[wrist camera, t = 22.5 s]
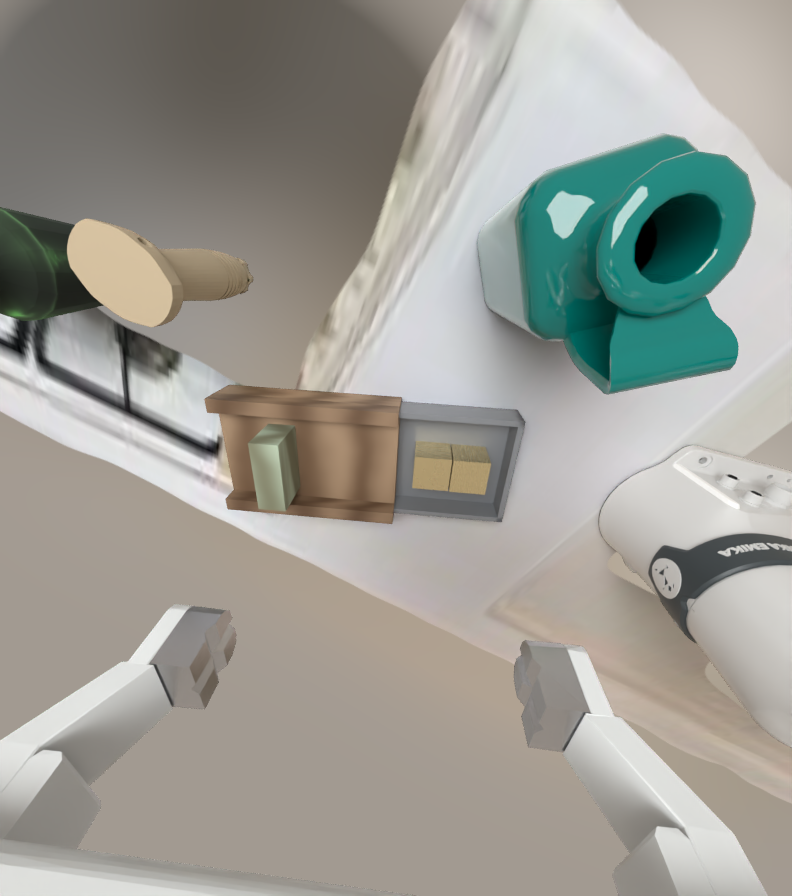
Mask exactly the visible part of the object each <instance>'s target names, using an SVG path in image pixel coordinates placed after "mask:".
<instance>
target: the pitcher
mask: <svg viewBox="0 0 792 896" xmlns="http://www.w3.org/2000/svg"><path fill="white" fill-rule="evenodd" d="M755 205H756V202H755V198H754V195H753V191H752V188H751V184H750V181H749V177H748V174H747V173H746V172H744V171H743V170H742V169H741V168H740V167H739V166H738V165H737V164H735V163H734V162H733V161H732V160H731V159H730V158H729V157H727V156H725V155H719V154H712V153H705V152H698V149H697V148H696V147H695V146H693V145H692V144H691V143H690V142H689V141H688V140H687V139H686V138H684V137H682V136H677V135H670V134H658V135H655V136H652V137H649V138H646V139H643V140H639V141H636V142H633V143H630V144H627V145H624V146H621V147H618V148H615V149H612V150H608V151H605V152H602V153H599V154H596V155H593V156H590V157H587V158H584V159H580V160H577V161H574V162H571V163H568V164H565V165H562V166H559V167H556V168H552V169H549V170H547V171H545V172H544V173H542V174H541V175H540V176H539V177H538V178H536V179H535V180H534V181H533V182H531V183H530V184H529V185H528V186H527V187H526V188H524V189H523V190H522V191H521V192H520V193H519V194H517V195H516V196H515V197H514V198H513V199H512V200H510V201H509V202H508V203H507V204H506V205H505V206H503V207H502V208H501V209H500V210H499V211H498V212H496V213H495V214H494V215H493V216H492V217H491V218H489V219H488V220H487V221H486V222H485V224H484V225H483V227H482V229H481V230H480V232H479V236H478V241H477V246H478V254H479V261H480V268H481V276H482V283H483V290H484V298H485V302H486V304H487V306H488V307H489V309H491V310H492V311H494V312H495V313H496V314H498V315H500V316H502V317H503V318H505V319H507V320H509V321H510V322H512V323H514V324H515V325H517V326H519V327H521V328H522V329H524V330H526V331H528V332H529V333H531V334H533V335H535V336H536V337H538V338H540V339H541V340H547V341H555V342H559V341H563V342H564V344H565V347H566V349H567V351H568V353H569V355H570V357H571V359H572V361H573V362H574V364H575V365H576V367H577V368H578V369H579V370H580V371H581V372H582V373H583V374H584V375H585V376H586V377H587V378H588V379H589V380H590V381H591V382H592V383H593V384H595V385H596V386H597V387H598V388H599V389H600V390H601V391H602V392H603V393H605V394H613V393H618V392H623V391H627V390H632V389H637V388H642V387H647V386H652V385H657V384H662V383H667V382H672V381H677V380H682V379H686V378H691V377H696V376H701V375H706V374H711V373H716V372H721V371H726V370H730V369H731V368H732V367H733V366H734V364H735V363H736V359H737V356H738V342H737V339H736V337H735V335H734V333H733V332H732V330H731V328H730V327H729V326H727V325H726V324H725V323H724V322H723V321H722V320H720V319H719V318H718V317H717V316H716V315H715V313H714V312H713V311H712V309H711V306H710V304H709V301H708V299H707V297H706V295H707V294H709V293H711V292H712V290H713V289H714V288H715V287H716V286H717V285H718V284H719V283H720V282H721V281H722V280H723V279H724V278H725V277H726V276H727V275H728V273H729V272H730V271H731V270H732V269H733V268H734V267H735V265H736V263H737V261H738V259H739V257H740V255H741V254H742V252H743V250H744V248H745V246H746V244H747V242H748V240H749V238H750V236H751V231H752V224H753V218H754V211H755Z"/></svg>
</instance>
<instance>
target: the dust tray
mask: <svg viewBox="0 0 792 896" xmlns="http://www.w3.org/2000/svg"><path fill="white" fill-rule="evenodd" d="M399 418H400V430H399V446H398V463H397V480H396V496H395V503H394V513H402V514H414V515H425V516H436V517H448V518H459V519H470V520H482V521H493V522H502V518H503V514H504V510H505V505H506V501H507V497H508V493H509V489H510V485H511V480H512V476H513V472H514V468H515V464H516V459H517V455H518V451H519V447H520V443H521V438H522V434H523V430H524V426H525V421H524V419H523V418H522V416H521V415H520V413H519V412H518V410H510V409H496V408H482V407H469V406H455V405H441V404H428V403H414V402H401V406H400V412H399ZM416 441H425V442H437V443H449V444H450V447H451V444H457V445H469V446H481V447H486V450H487V453H488V456H489V458H490V461H491V468H490V472H489V477H488V482H487V487H486V492H485V495H481V494H470V493H458V492H449V488H448V491H440V490H428V489H417V488H412V483H413V468H414V457H415V445H416Z"/></svg>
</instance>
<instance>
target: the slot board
mask: <svg viewBox="0 0 792 896" xmlns="http://www.w3.org/2000/svg"><path fill="white" fill-rule="evenodd" d="M204 400H205V404H206V409H207V413H219V416H220V421H221V426H222V431H223V436H224V442H225V447H226V452H227V457H228V462H229V467H230V472H231V477H232V482H233V487H234V490H233V491H232V492H231V494H230V495H229V496H228V497H227V498H226V503H227V508H228V509H231V510H242V511H253V512H265V513H276V514H287V515H298V516H309V517H320V518H331V519H343V520H354V521H365V522H376V523H387V524H392V522H393V515H394V503H395V496H396V480H397V463H398V446H399V430H400V418H399V412H400V406H401V400H402V397H390V396H376V395H362V394H348V393H334V392H321V391H307V390H292V389H279V388H265V387H252V386H238V385H228V386H226V387H224V388H223V389H221V390H219V391H217V392H216V393H214V394H212V395H210V396H209V397H207V398H205V399H204ZM267 424H282V425H295V431H296V442H297V453H298V464H299V475H300V488H299V490H298V491H297V493H296V495H295V496H294V498H293V500H292V502H291V503H290V505H289V507H288V508H287V510H286V511H275V510H264V509H259V508H258V502H257V496H256V490H255V484H254V478H253V471H252V465H251V459H250V453H249V447H248V443H249V442H250V441H251V440H252V439H253V438H254V437H255V436H256V435H257V434H258V433H259V432H260V431H261V430H262V429H263V428H264V427H265V426H266V425H267Z"/></svg>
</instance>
